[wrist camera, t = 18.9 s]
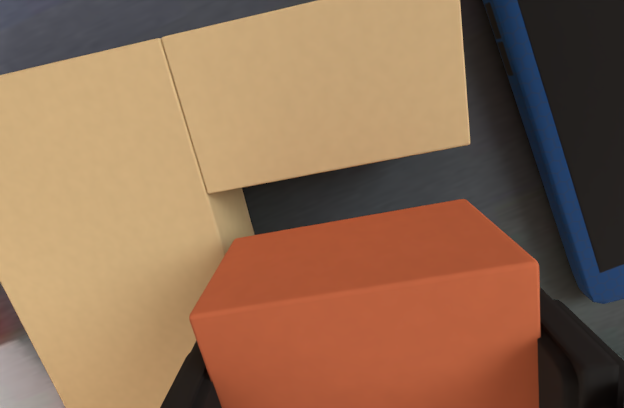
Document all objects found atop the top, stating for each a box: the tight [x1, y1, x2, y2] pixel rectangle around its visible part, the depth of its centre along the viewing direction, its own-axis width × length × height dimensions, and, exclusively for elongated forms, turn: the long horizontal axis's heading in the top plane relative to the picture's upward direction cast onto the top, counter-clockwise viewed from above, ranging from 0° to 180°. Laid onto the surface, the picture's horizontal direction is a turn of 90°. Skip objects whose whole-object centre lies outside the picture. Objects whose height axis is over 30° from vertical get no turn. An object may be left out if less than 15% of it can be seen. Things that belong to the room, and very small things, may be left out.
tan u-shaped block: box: [0, 0, 470, 408], centre depth 13 cm, size 16×14×4 cm
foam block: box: [189, 199, 541, 408], centre depth 9 cm, size 6×6×4 cm
